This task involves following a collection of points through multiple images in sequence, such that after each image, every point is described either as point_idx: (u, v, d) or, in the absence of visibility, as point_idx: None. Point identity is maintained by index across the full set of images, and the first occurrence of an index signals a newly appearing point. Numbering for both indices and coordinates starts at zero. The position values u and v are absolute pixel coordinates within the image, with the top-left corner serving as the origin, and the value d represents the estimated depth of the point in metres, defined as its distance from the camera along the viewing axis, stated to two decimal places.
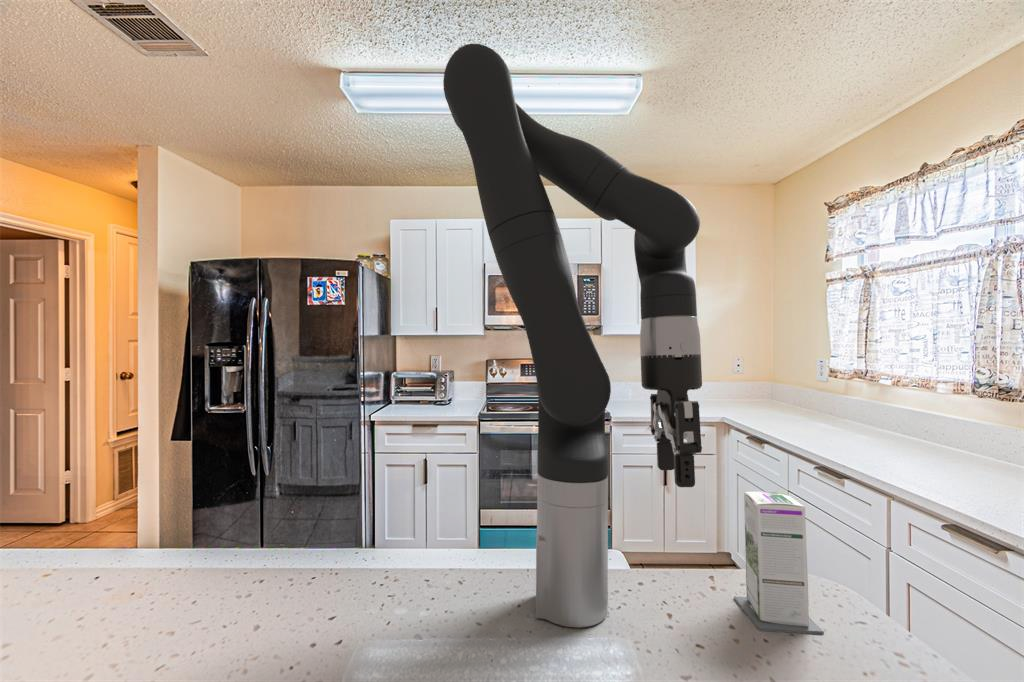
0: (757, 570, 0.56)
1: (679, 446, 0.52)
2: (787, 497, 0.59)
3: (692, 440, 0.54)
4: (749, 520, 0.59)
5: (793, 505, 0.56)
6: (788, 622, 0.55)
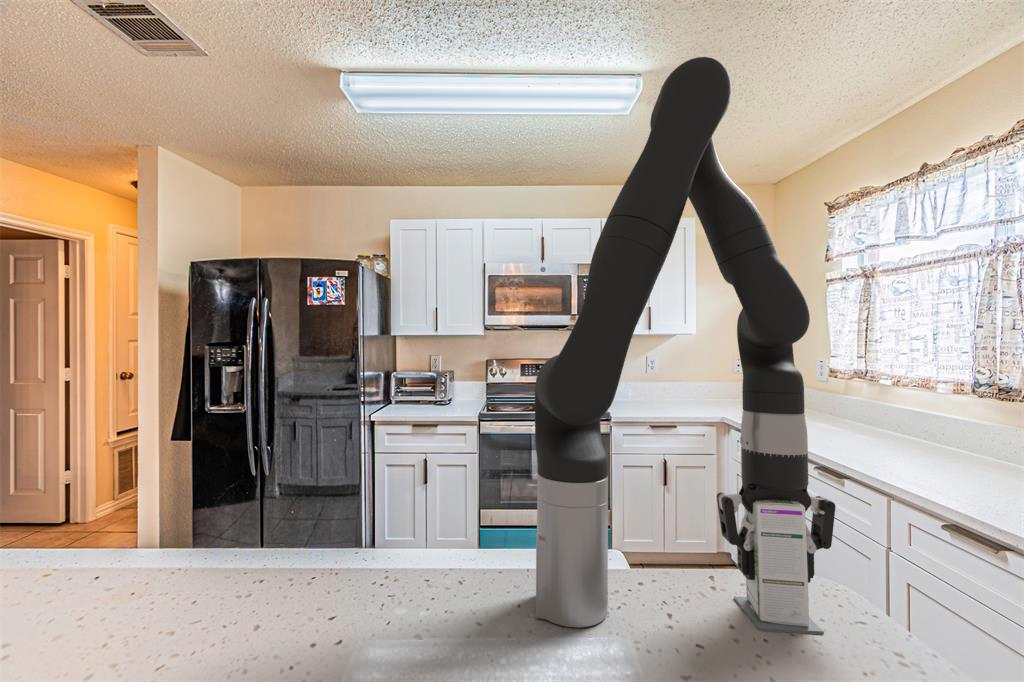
0: (757, 570, 0.56)
1: (829, 542, 0.57)
2: None
3: None
4: (749, 520, 0.59)
5: (793, 505, 0.56)
6: (788, 622, 0.55)
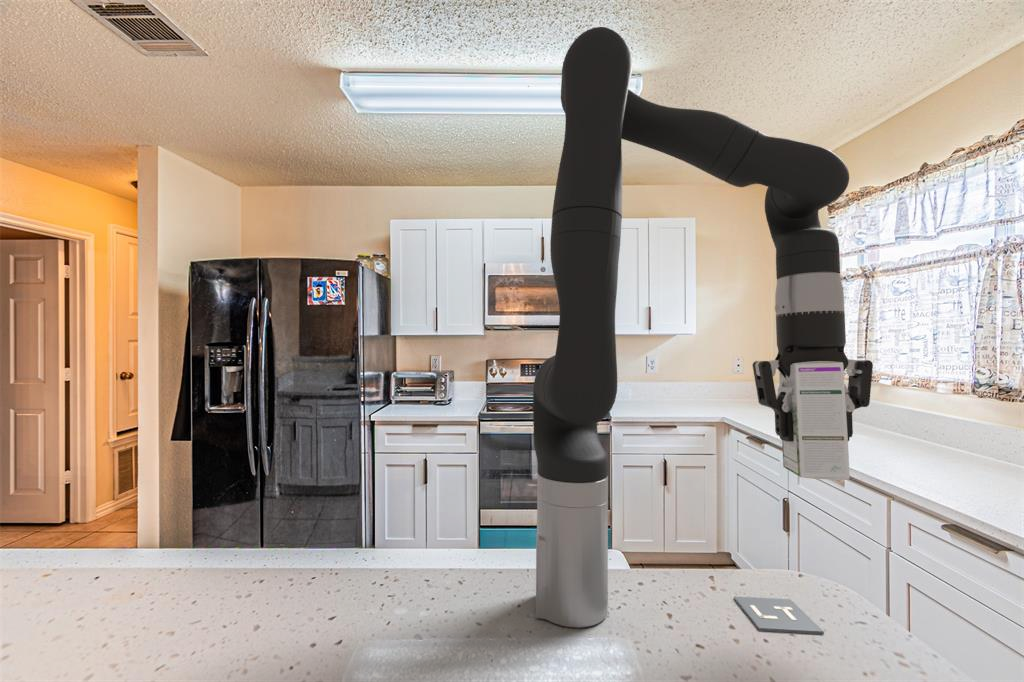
0: (796, 429, 0.57)
1: (867, 400, 0.57)
2: None
3: None
4: (786, 385, 0.59)
5: (831, 362, 0.56)
6: (829, 477, 0.55)
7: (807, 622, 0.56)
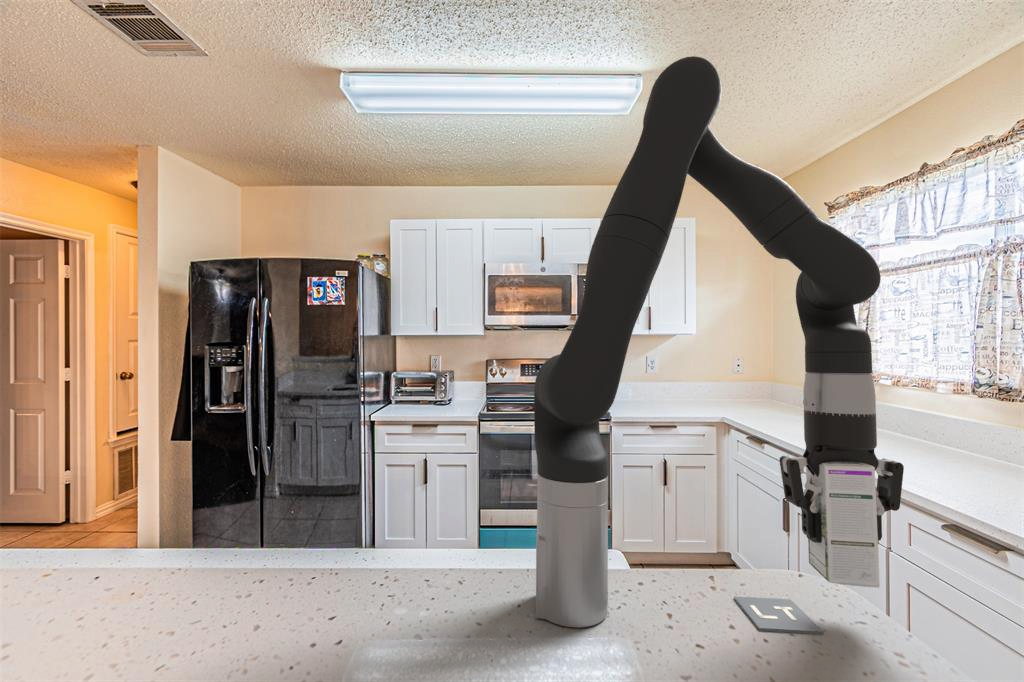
0: (825, 532, 0.55)
1: (897, 504, 0.56)
2: None
3: None
4: (813, 483, 0.58)
5: (862, 465, 0.55)
6: (858, 583, 0.54)
7: (807, 622, 0.56)
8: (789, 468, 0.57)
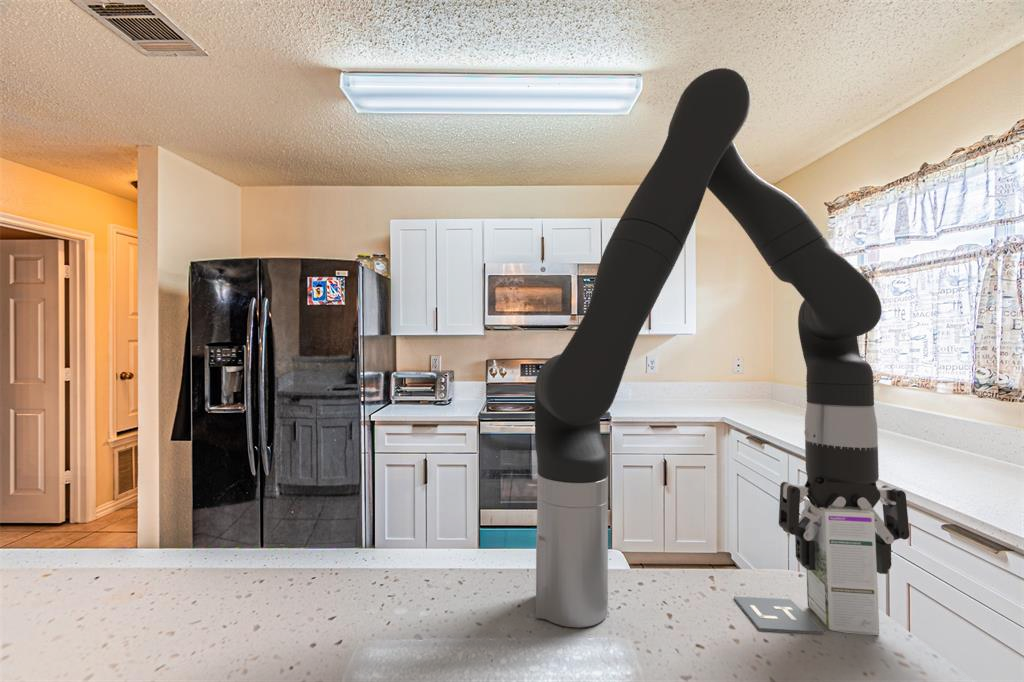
0: (825, 579, 0.55)
1: (907, 532, 0.55)
2: None
3: None
4: None
5: (862, 512, 0.55)
6: (858, 631, 0.54)
7: (807, 622, 0.56)
8: (789, 494, 0.57)
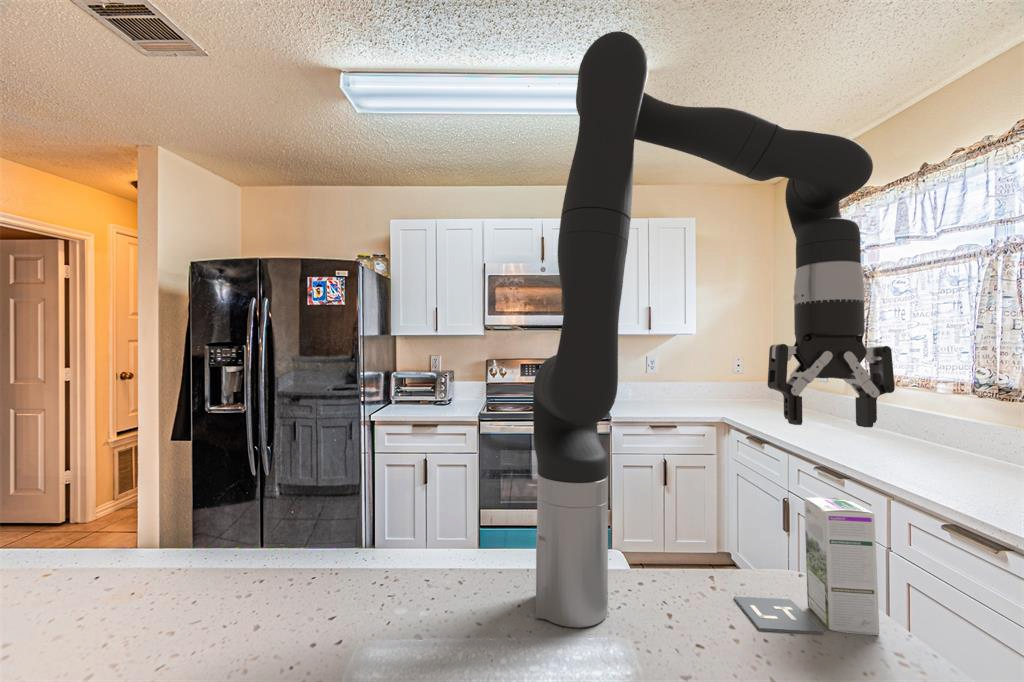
0: (825, 579, 0.55)
1: (892, 386, 0.57)
2: (851, 503, 0.58)
3: None
4: (813, 527, 0.58)
5: (862, 512, 0.55)
6: (858, 631, 0.54)
7: (807, 622, 0.56)
8: (777, 352, 0.58)
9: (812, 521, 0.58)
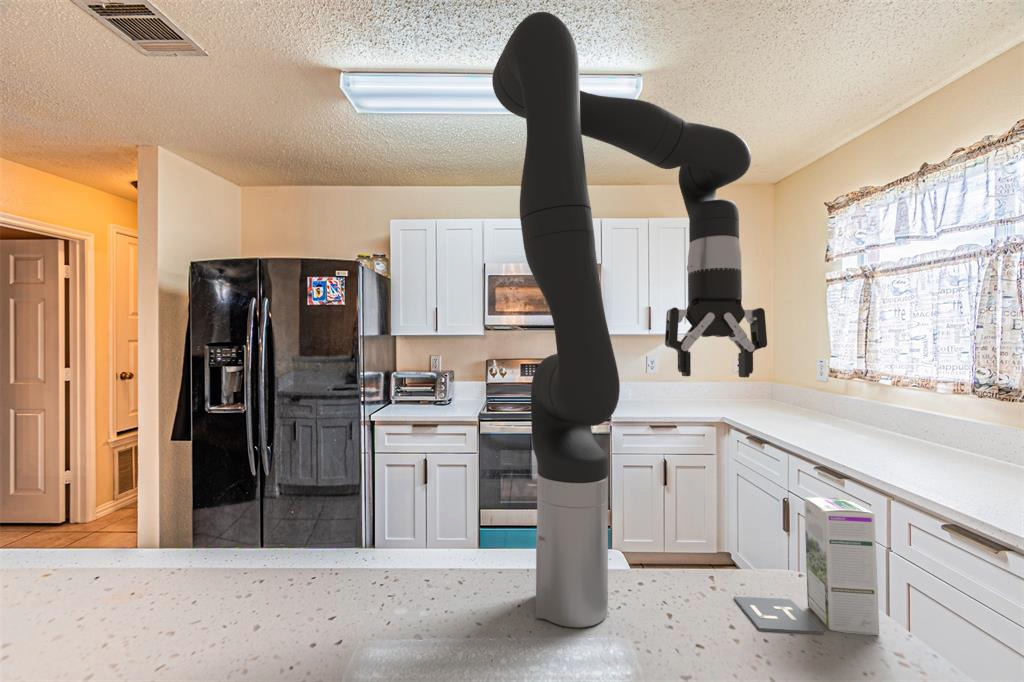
0: (825, 579, 0.55)
1: (765, 342, 0.67)
2: (851, 503, 0.58)
3: None
4: (813, 527, 0.58)
5: (862, 512, 0.55)
6: (858, 631, 0.54)
7: (807, 622, 0.56)
8: (670, 314, 0.68)
9: (812, 521, 0.58)
